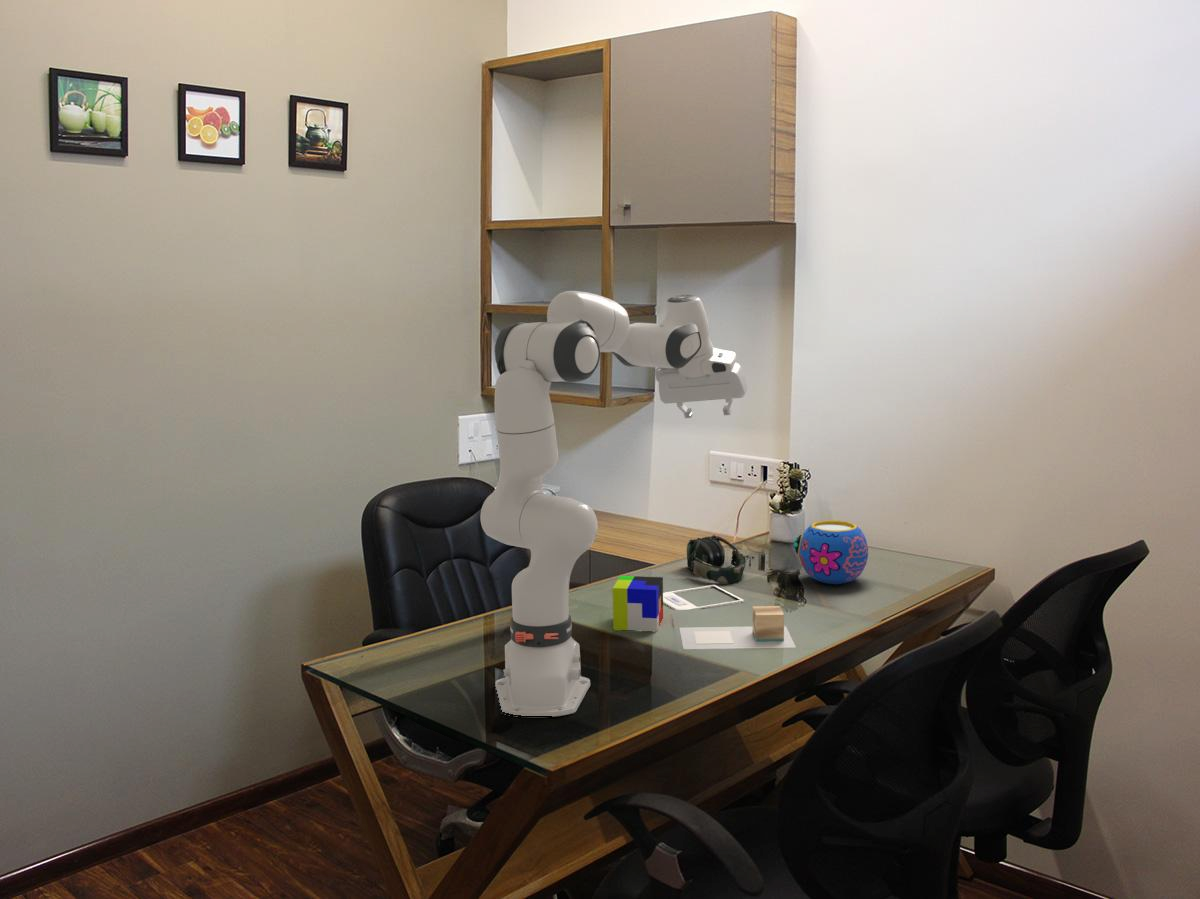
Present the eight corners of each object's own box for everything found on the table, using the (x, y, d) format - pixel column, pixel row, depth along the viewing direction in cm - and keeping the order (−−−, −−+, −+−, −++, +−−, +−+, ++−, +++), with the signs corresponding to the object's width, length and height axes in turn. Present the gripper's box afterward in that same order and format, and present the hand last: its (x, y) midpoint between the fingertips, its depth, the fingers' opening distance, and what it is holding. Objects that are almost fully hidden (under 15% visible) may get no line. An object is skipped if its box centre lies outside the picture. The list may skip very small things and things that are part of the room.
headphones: (662, 552, 295) (710, 580, 279) (693, 514, 297) (742, 539, 282) (687, 578, 303) (734, 607, 287) (716, 541, 305) (765, 567, 290)
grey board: (796, 652, 234) (796, 647, 234) (683, 653, 235) (683, 648, 234) (785, 630, 248) (785, 625, 248) (679, 631, 248) (679, 627, 248)
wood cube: (783, 641, 238) (784, 614, 237) (756, 641, 238) (756, 615, 237) (779, 632, 244) (779, 606, 243) (752, 632, 244) (752, 606, 243)
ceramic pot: (827, 568, 297) (827, 514, 294) (881, 582, 283) (883, 525, 281) (783, 581, 286) (784, 525, 283) (838, 596, 272) (839, 537, 270)
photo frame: (651, 593, 275) (714, 583, 282) (651, 598, 275) (714, 588, 282) (679, 610, 262) (744, 599, 269) (679, 614, 262) (744, 603, 269)
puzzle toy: (656, 632, 249) (656, 589, 247) (613, 630, 251) (612, 588, 249) (663, 618, 258) (662, 577, 256) (621, 616, 260) (620, 575, 259)
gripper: (649, 372, 250) (662, 425, 256) (736, 364, 242) (747, 419, 249) (656, 360, 255) (669, 412, 261) (742, 351, 248) (753, 406, 254)
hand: (708, 415), depth 255 cm, fingers open, 8 cm apart
